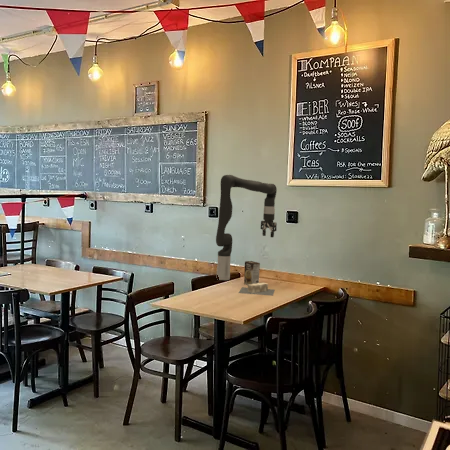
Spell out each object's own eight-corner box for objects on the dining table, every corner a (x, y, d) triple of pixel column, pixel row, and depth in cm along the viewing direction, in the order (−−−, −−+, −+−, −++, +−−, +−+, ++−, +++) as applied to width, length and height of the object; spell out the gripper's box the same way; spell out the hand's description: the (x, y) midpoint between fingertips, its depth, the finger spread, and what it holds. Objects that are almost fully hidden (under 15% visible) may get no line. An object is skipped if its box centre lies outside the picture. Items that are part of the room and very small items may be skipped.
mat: (238, 293, 299) (238, 293, 299) (242, 287, 316) (242, 287, 316) (272, 296, 296) (272, 295, 296) (274, 290, 312) (274, 289, 312)
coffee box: (243, 284, 327) (244, 261, 326) (250, 283, 331) (251, 260, 330) (252, 286, 320) (253, 263, 318) (259, 285, 324) (260, 262, 322)
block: (267, 290, 308) (252, 293, 301) (263, 289, 312) (247, 291, 304) (268, 283, 308) (252, 285, 300) (263, 282, 311) (247, 284, 304)
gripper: (258, 212, 325) (257, 235, 327) (271, 213, 314) (270, 238, 315) (266, 212, 330) (265, 235, 331) (280, 213, 318) (279, 237, 319)
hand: (268, 236), depth 323 cm, fingers open, 8 cm apart
